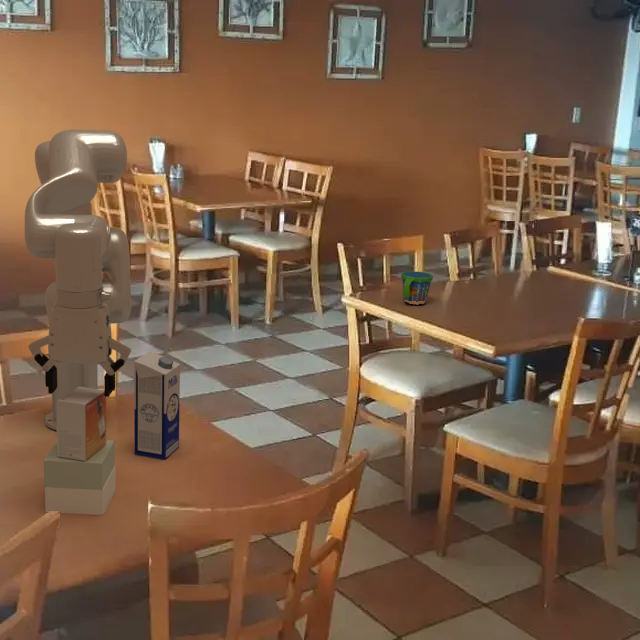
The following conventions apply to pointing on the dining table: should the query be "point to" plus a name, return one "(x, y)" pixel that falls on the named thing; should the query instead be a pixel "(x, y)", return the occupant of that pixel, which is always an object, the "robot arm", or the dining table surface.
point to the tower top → (79, 469)
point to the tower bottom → (80, 499)
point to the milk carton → (156, 406)
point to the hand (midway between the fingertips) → (80, 392)
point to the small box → (81, 423)
